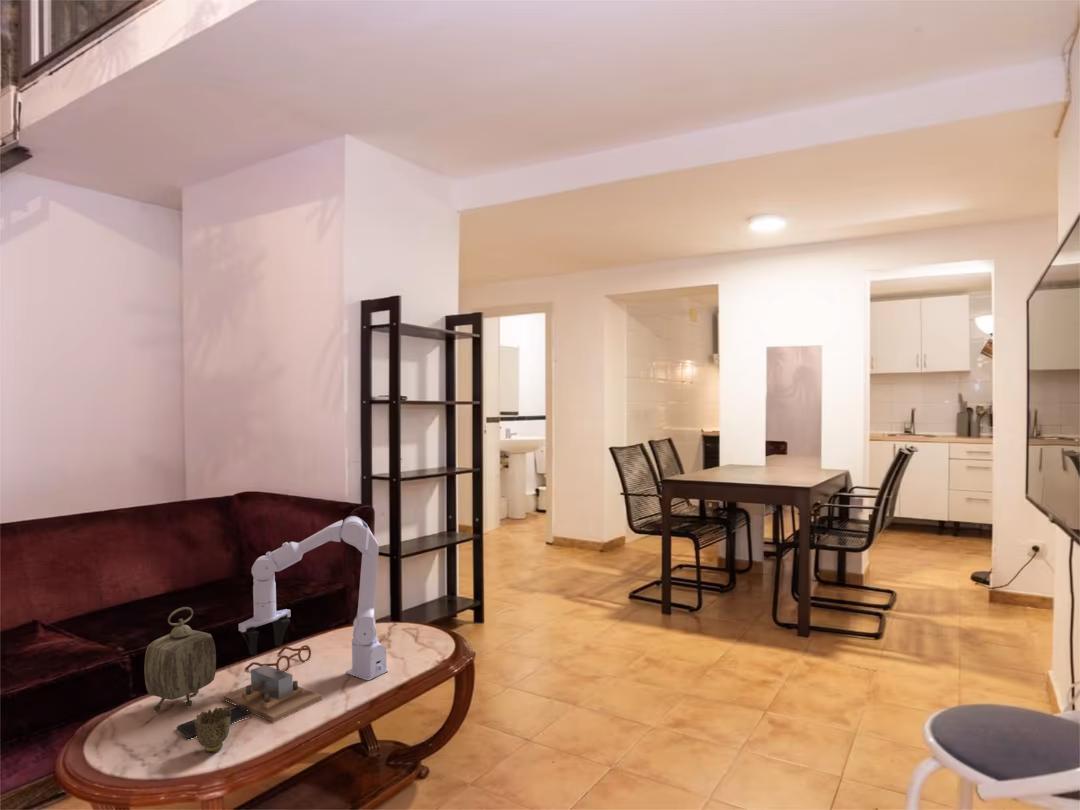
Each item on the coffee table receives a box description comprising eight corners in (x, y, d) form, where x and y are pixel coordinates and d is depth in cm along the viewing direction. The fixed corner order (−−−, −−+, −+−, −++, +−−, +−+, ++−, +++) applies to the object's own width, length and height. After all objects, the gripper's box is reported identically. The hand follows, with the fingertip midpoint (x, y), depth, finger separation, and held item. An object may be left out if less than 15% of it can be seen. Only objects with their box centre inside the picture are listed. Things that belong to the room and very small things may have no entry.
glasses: (278, 677, 188) (278, 659, 188) (245, 670, 194) (244, 653, 194) (312, 659, 200) (311, 643, 200) (279, 653, 206) (279, 637, 205)
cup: (203, 742, 152) (202, 707, 152) (236, 740, 153) (236, 706, 153) (189, 760, 145) (188, 723, 144) (224, 758, 145) (223, 721, 145)
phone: (174, 726, 158) (238, 704, 169) (175, 731, 158) (238, 708, 169) (187, 737, 153) (252, 713, 164) (187, 742, 153) (252, 718, 164)
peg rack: (321, 699, 173) (321, 683, 172) (273, 722, 161) (273, 705, 161) (271, 680, 185) (270, 665, 185) (223, 700, 173) (222, 684, 173)
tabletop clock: (197, 690, 179) (195, 598, 179) (220, 696, 176) (218, 602, 175) (145, 713, 166) (142, 614, 166) (168, 721, 163) (166, 619, 162)
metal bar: (292, 694, 171) (292, 674, 171) (278, 700, 168) (278, 680, 168) (265, 683, 178) (264, 664, 178) (251, 688, 175) (250, 670, 175)
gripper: (279, 591, 191) (280, 638, 191) (231, 605, 179) (232, 655, 179) (294, 595, 187) (295, 643, 187) (246, 609, 175) (248, 661, 175)
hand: (266, 650), depth 183 cm, fingers open, 7 cm apart
